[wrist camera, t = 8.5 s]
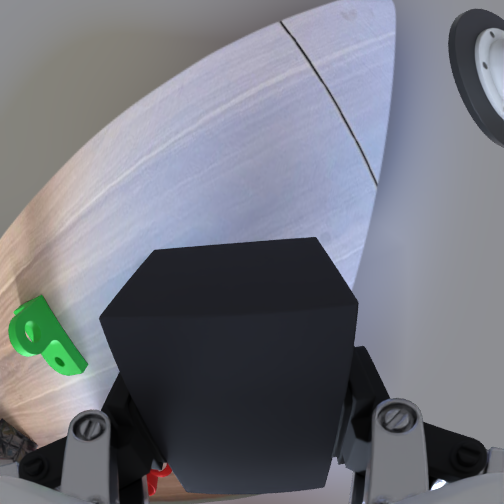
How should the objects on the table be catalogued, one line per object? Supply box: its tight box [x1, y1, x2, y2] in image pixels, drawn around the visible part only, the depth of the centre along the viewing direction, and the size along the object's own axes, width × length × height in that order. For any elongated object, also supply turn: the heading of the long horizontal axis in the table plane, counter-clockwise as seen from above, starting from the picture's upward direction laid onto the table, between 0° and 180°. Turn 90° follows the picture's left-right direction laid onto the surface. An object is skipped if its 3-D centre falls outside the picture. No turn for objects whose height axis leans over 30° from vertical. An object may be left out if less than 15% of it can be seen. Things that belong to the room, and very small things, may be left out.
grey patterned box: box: [0, 419, 38, 466], centre depth 44 cm, size 16×25×16 cm, turn 145°
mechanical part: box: [8, 295, 88, 376], centre depth 31 cm, size 12×6×8 cm, turn 21°
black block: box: [99, 237, 358, 494], centre depth 8 cm, size 5×8×4 cm, turn 5°
